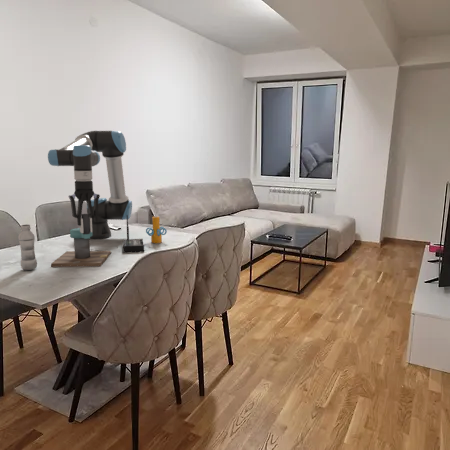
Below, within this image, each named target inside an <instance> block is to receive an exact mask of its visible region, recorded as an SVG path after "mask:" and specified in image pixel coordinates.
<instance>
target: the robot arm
mask: <svg viewBox="0 0 450 450" xmlns="http://www.w3.org/2000/svg"><path fill="white" fill-rule="evenodd" d="M126 152H127V142H126V138H125V136H124V134H123V132H121V131H120V130H91V131H87V132H84V133H82V134H80V135H78V136H76V137H75V139H74V141H71V142H70V143H69V144H66V145H65V146H63V147H61V148H58V149H50V150H49V151H48V153H47V160H48V164H49V165H50V166H54V167H73V172H74V173H73V174H74V176H73V177H74V180H75V181H74V193H73V194H71V195H68V198H69V201H70V206H71V215H72V217H73V218H75V219H76V222H77V223H76V224H77V226H78V227H79V228H80V232H81V233H84V231H83V219H82V215H81V214H83V212H82V211H83V205H84V202H86V214H89V223H90V232H92V236H91V237H90V238H89V240H90V239H92V240H93V239H94V240H96V239H97V240H98V239H100V240H101V239H108V238H110V237H112V231H111V228H110V226H109V222H108V220H111V221H112V220H113V221H115V220H116V221H117V220H118V221H124V220H126V221H127V215H128V220H129V219H131V216H132V212H133V201H132V200H131V199H130V200H129V196H128V195H126V187H125V180H124V169H123V162H122V160H123V159H122V158H123V156H124V155H125V154H124V153H126ZM99 153H102V155H101V156H102V157H103V158H104V159H105V163H106V171H107V178H108V184H109V192H110V197H109V198H108V199H107V197H101V195H100V194H99V193H95V192H94V183H93V167H95V166H97V165H98V164H99V163H100V162H101V156H100V154H99ZM100 197H101V198H100ZM92 198H93V199H92ZM75 199H77V206H76V200H75ZM76 207H77V208H76Z"/></svg>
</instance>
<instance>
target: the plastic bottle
mask: <svg viewBox="0 0 450 450" xmlns="http://www.w3.org/2000/svg"><path fill="white" fill-rule="evenodd" d="M20 230H21V231H20V233H19V234H18V242H19V247H20V256H21V257H20V266H21V269H22V270H23V271H33V270H35V269H36V268H37V267H38V261H37V258H36V253H35V242H36V241H35V237H36V236H35V234H34V233H33V231H31V224H22V225H20Z"/></svg>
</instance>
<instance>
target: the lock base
mask: <svg viewBox="0 0 450 450" xmlns="http://www.w3.org/2000/svg"><path fill="white" fill-rule="evenodd" d="M90 243H91V242H90V238H88V239H84V238H73V247H74V250H73V251H72V250H69V251H67V250H66V251H65V252H63V253H62V254H61V255H60V256H59V257H57V258H56V259H55V260H53V262H51V263H50V266H51V267H52V268H53V267H54V268H56V267H57V268H58V267H59V268H60V267H61V268H62V267H70V268H71V267H101V266H102V265H103V264H104V263H105V262H106V260H107V259H108V258H109V256H110V255H111V253H112V251H111V250H91V244H90Z"/></svg>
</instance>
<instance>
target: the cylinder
mask: <svg viewBox="0 0 450 450" xmlns="http://www.w3.org/2000/svg"><path fill="white" fill-rule="evenodd" d="M151 219H152V227H147V228H146V229H145V233H146V234H147V235H148V236H149V237H150V240H151V241H150V242H151V243H152V244H160V243H162V242H163V238H162V237H163V236H165V235H166V234H167V231H168V230H167V229H166V227H165V228H164V226H161V225H160V224H161V223H160V216H158V215H155V216H152V217H151ZM150 231H151V232H150Z"/></svg>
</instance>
